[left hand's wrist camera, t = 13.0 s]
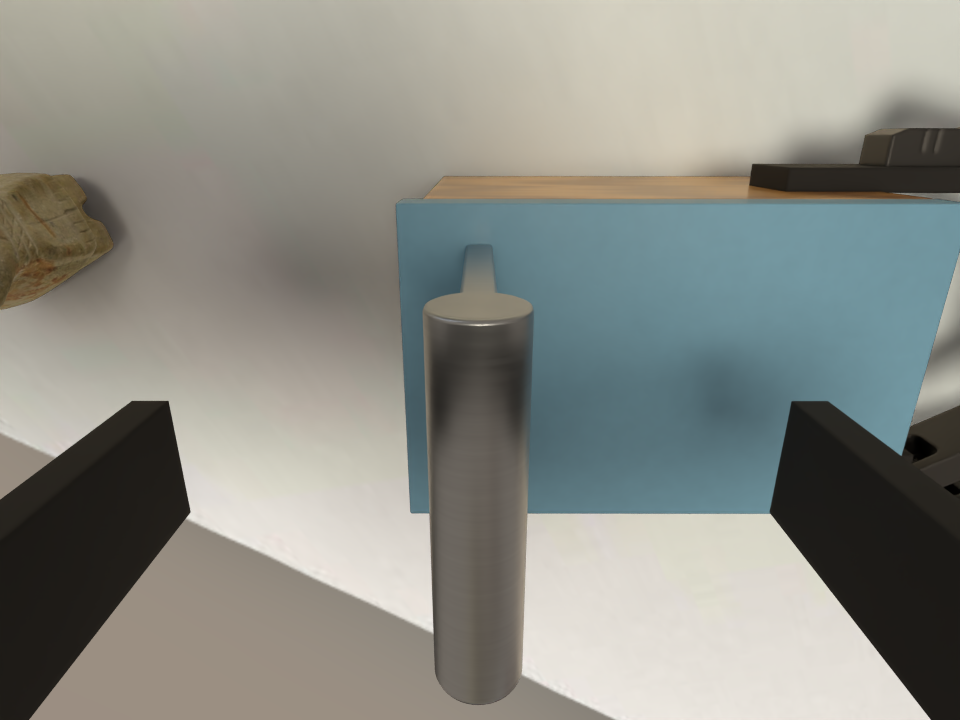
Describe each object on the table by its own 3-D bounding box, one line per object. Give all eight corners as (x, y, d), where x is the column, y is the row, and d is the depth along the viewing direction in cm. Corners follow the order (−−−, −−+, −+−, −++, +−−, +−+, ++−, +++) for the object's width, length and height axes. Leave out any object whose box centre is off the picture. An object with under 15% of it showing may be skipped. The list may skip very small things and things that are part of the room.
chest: (446, 375, 30) (431, 490, 20) (442, 176, 26) (421, 198, 17) (735, 375, 30) (860, 490, 20) (768, 176, 26) (936, 199, 17)
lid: (414, 491, 20) (367, 741, 12) (401, 198, 17) (322, 258, 8) (860, 491, 20) (1130, 741, 12) (937, 199, 17) (1391, 259, 8)
